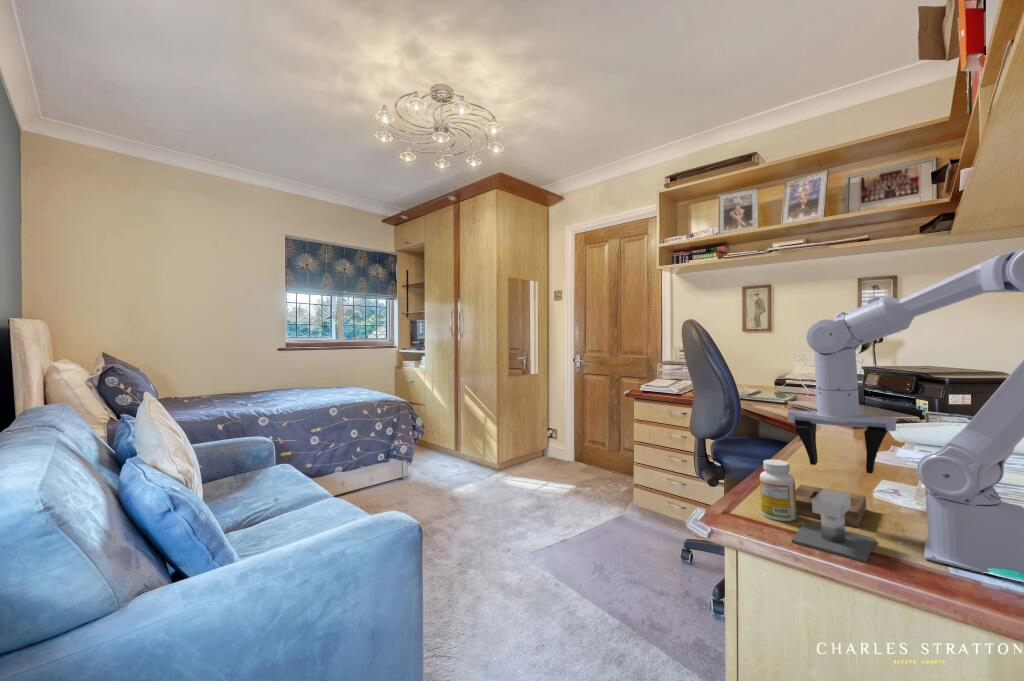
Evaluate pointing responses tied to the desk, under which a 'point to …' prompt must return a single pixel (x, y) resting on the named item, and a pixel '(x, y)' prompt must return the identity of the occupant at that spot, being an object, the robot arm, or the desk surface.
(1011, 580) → the desk surface
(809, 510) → the socket block
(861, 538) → the charcoal mat
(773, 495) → the supplement bottle
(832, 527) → the steel t key
